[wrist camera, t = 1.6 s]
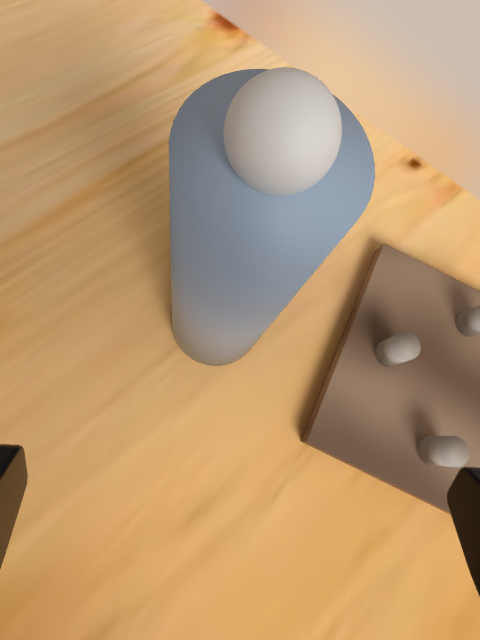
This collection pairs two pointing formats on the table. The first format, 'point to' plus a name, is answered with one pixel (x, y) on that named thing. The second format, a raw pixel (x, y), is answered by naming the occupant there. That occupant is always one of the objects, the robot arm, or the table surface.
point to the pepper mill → (257, 202)
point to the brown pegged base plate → (405, 380)
